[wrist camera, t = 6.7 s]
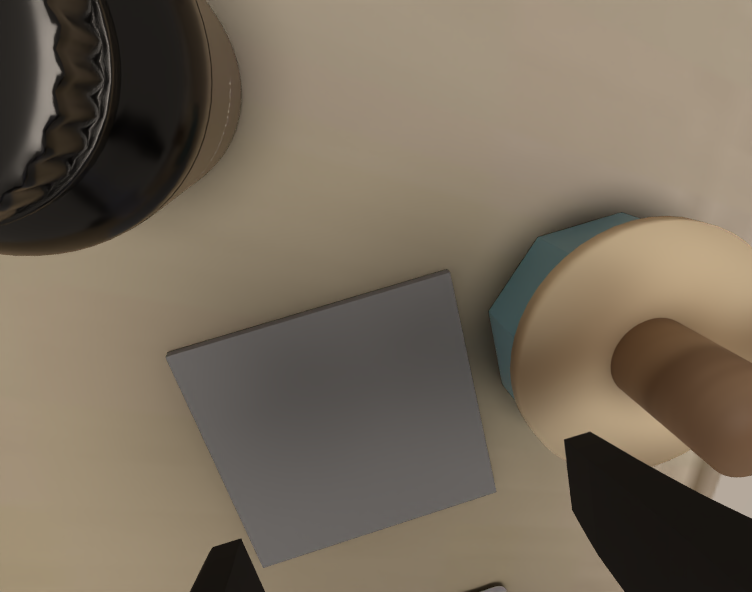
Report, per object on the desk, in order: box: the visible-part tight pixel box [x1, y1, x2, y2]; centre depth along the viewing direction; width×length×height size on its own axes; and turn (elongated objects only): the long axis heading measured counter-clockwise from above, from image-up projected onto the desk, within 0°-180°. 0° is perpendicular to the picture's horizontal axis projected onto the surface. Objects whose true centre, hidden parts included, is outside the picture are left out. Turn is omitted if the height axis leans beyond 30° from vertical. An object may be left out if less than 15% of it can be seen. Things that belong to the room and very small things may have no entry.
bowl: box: [488, 212, 640, 400], centre depth 20 cm, size 8×8×3 cm
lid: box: [510, 216, 752, 477], centre depth 16 cm, size 10×10×5 cm
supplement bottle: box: [0, 0, 241, 256], centre depth 11 cm, size 7×7×12 cm
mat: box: [166, 269, 496, 568], centre depth 22 cm, size 11×11×1 cm
